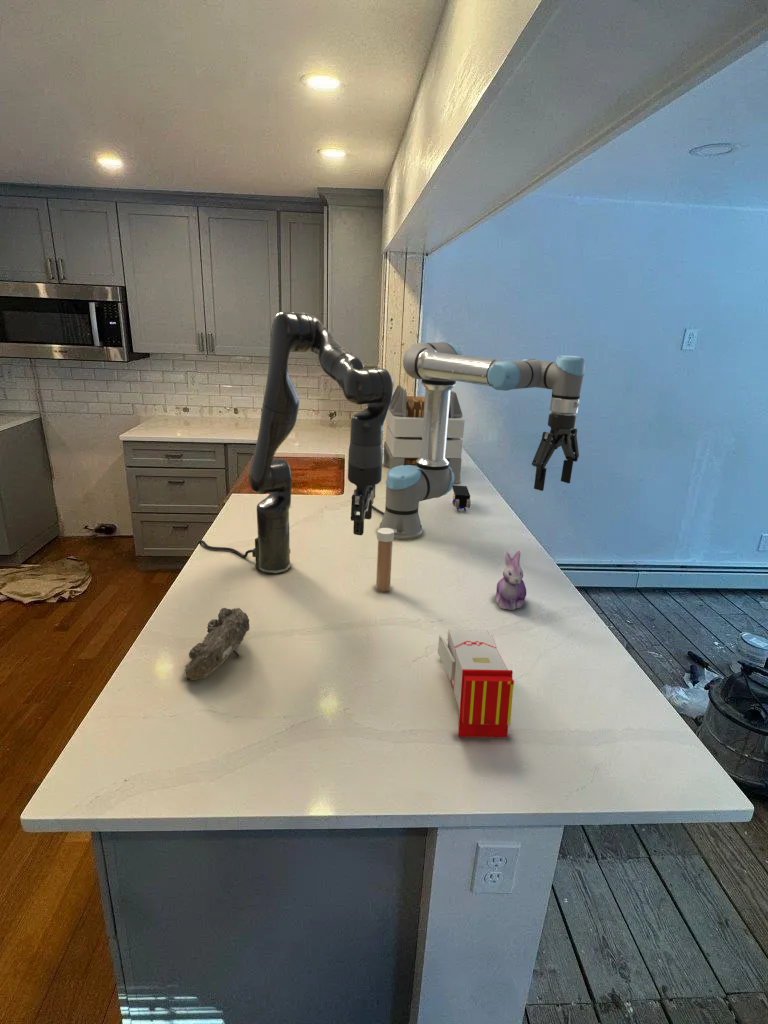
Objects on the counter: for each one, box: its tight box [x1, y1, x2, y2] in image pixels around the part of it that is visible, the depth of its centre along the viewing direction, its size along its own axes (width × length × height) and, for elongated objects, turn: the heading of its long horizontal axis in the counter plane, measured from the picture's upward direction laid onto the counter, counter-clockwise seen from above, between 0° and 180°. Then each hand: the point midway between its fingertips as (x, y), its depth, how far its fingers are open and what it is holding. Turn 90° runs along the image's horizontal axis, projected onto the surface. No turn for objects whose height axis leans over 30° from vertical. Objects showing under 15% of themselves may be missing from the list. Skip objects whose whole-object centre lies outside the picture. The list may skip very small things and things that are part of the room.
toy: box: [437, 628, 515, 738], centre depth 117 cm, size 12×13×30 cm
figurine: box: [495, 550, 527, 611], centre depth 153 cm, size 9×10×15 cm
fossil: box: [184, 607, 250, 681], centre depth 125 cm, size 22×10×15 cm
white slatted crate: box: [382, 384, 465, 484], centre depth 268 cm, size 34×33×41 cm
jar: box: [375, 539, 394, 593], centre depth 158 cm, size 4×4×17 cm
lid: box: [376, 528, 395, 542], centre depth 155 cm, size 5×5×2 cm
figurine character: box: [451, 484, 472, 513], centre depth 228 cm, size 7×8×15 cm
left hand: (362, 526), depth 132 cm, fingers open, 8 cm apart
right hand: (552, 485), depth 166 cm, fingers open, 13 cm apart
